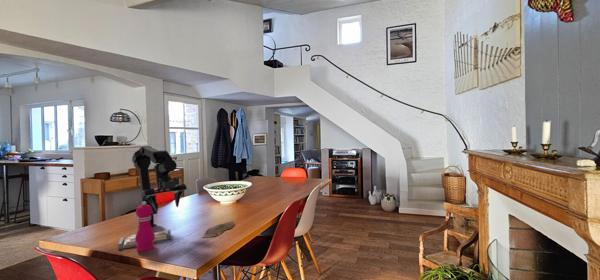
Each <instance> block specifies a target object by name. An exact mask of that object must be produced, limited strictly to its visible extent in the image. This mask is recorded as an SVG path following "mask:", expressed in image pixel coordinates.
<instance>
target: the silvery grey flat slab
mask: <svg viewBox="0 0 600 280" xmlns="http://www.w3.org/2000/svg"><path fill="white" fill-rule="evenodd" d="M166 236H167V239H163V240H157V241H152V242H154V244H156V243H162V242H168V241H171V240H172V233H171V229H167V232H166ZM124 242H125V236H124V237H123V236H122V237H120V239H119V241H118V250H119V249H120V250H124V248H125V249H129V248H130V249H131V248H135V247H136V248H137V245H138V244H135V245H129V246H124Z"/></svg>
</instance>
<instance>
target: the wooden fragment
mask: <svg viewBox="0 0 600 280" xmlns="http://www.w3.org/2000/svg"><path fill="white" fill-rule="evenodd" d="M235 226H236V225H235V222H234V221H233V220H231V221H227V222H224V223H220V224H217V225H214V226H212V227H209V228H207V230H206V231H205V233H204V235H203V236H202V239H208V238H215V237H219V236H220V235H221V234H223V233H224V232H225V231H228V230H230V229H231V230H232V228H233V227H235Z"/></svg>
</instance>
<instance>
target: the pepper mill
mask: <svg viewBox="0 0 600 280" xmlns="http://www.w3.org/2000/svg"><path fill="white" fill-rule="evenodd" d="M151 213H152V207H151V206H150V205H146V202H145V201H143V202H142V205H141V206H139V205H138V207H137V208H136V210H135V214H136V216H137V221H138V226H139V227H137V228H138V229H137V232H136V237H135V242H136V243H137V244H138V245H137V246H136V251H137V252H145V251H149V250H152V249H153V248H154V247H155V243H154V242H152V241H153V240H154V238H155V234H154V233H155V232H154V230H153V227H151V225H150V219H151V215H150V214H151Z"/></svg>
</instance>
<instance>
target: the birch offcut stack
mask: <svg viewBox="0 0 600 280" xmlns="http://www.w3.org/2000/svg"><path fill="white" fill-rule="evenodd" d="M166 233H167V232H166V230H163V231H157V232H154V234H155V238H154V240H153V241H157V240H163V239H167V236H166ZM136 234H137V233H136ZM136 234H131V235H130V236H128V237H127V238H124V241H125V242H124V246H129V245H135V244H137V243H136V242H135V237H136Z"/></svg>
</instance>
